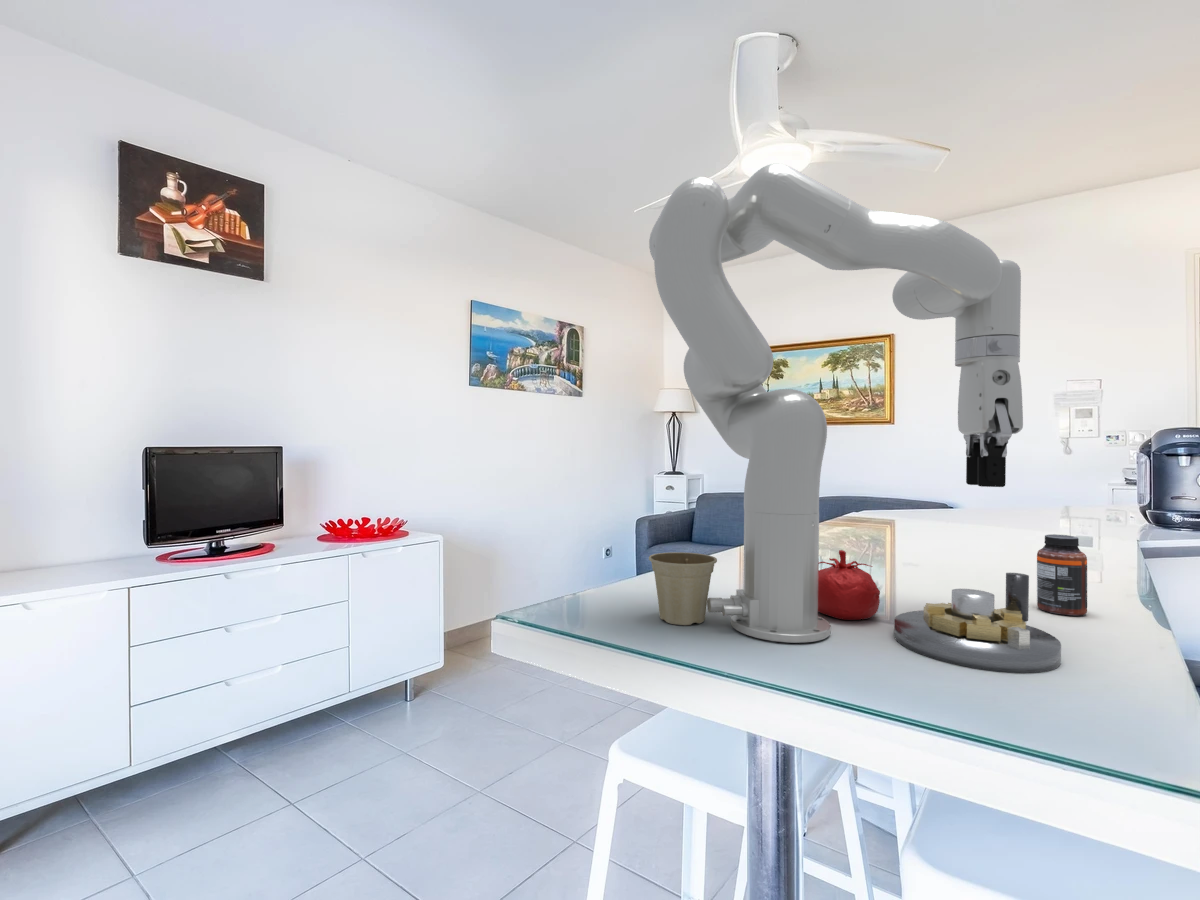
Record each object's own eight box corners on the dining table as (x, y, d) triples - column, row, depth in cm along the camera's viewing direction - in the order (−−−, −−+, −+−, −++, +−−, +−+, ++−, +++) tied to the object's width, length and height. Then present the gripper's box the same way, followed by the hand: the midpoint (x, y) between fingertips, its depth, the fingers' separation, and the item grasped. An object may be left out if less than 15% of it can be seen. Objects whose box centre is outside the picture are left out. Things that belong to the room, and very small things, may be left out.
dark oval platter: (954, 674, 62) (955, 613, 62) (867, 626, 79) (868, 578, 79) (1102, 671, 63) (1102, 611, 63) (985, 624, 80) (985, 576, 80)
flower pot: (643, 610, 86) (643, 551, 85) (706, 609, 86) (706, 551, 86) (654, 630, 76) (655, 564, 76) (725, 629, 77) (725, 563, 77)
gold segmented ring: (988, 645, 65) (989, 593, 64) (907, 620, 74) (908, 575, 74) (1066, 628, 71) (1067, 582, 71) (983, 608, 80) (983, 566, 80)
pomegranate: (833, 627, 78) (834, 558, 78) (794, 607, 88) (794, 546, 88) (897, 623, 80) (898, 556, 80) (852, 604, 90) (852, 544, 90)
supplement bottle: (1068, 606, 90) (1069, 533, 90) (1097, 618, 84) (1098, 539, 84) (1027, 605, 91) (1028, 532, 91) (1053, 616, 85) (1054, 538, 85)
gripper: (1047, 341, 72) (1046, 490, 72) (992, 361, 88) (991, 483, 88) (979, 343, 74) (977, 488, 74) (937, 362, 90) (936, 482, 90)
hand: (985, 484), depth 81 cm, fingers open, 3 cm apart
